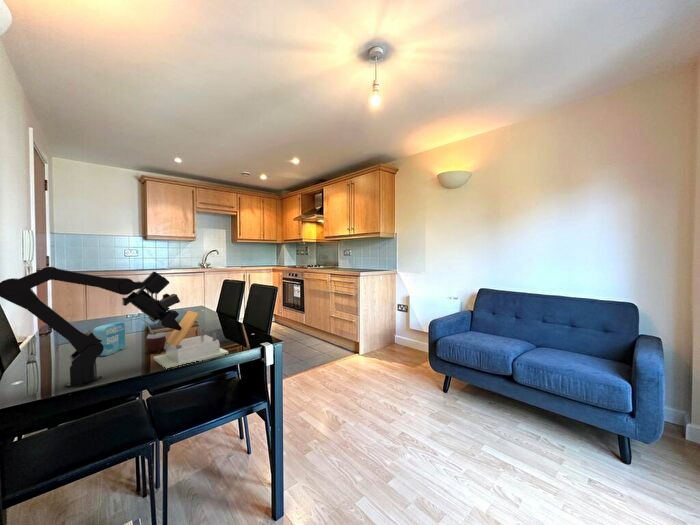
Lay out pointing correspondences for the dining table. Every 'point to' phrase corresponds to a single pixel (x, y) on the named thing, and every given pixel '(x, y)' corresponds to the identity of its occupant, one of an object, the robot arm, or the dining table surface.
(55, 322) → the robot arm
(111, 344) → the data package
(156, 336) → the mate gourd
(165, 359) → the board
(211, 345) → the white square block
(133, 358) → the dining table surface
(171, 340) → the thin wooden panel
